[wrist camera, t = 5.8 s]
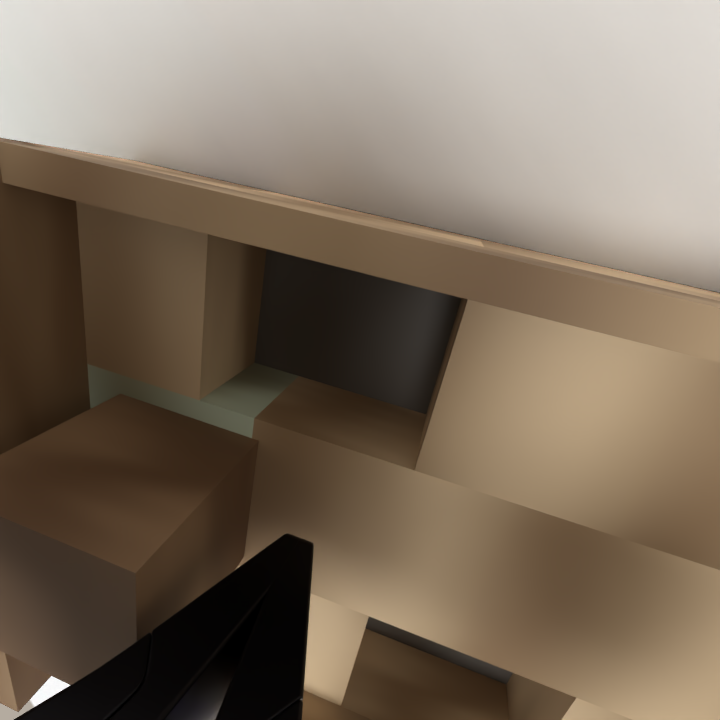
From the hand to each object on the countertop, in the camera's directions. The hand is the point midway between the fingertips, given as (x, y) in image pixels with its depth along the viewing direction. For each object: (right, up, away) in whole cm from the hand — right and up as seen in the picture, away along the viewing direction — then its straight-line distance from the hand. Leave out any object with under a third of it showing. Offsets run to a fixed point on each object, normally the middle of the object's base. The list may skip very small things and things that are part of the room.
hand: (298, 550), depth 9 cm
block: (-3, +1, +2) cm, 4 cm away
